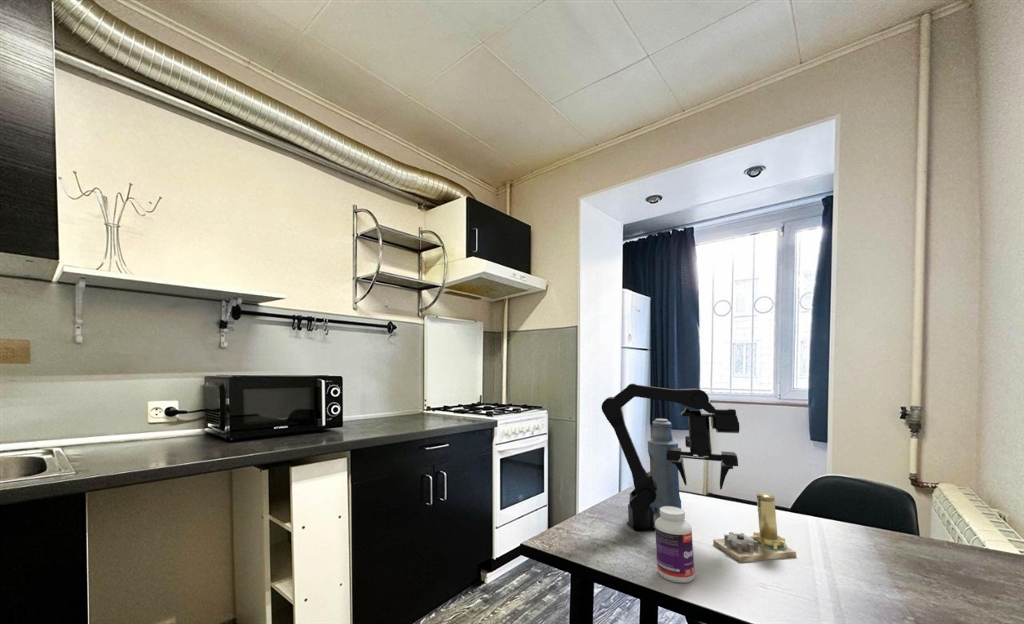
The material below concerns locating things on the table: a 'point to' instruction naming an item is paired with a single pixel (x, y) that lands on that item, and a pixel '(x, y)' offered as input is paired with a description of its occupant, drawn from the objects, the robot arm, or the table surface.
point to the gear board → (750, 548)
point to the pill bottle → (674, 545)
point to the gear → (767, 523)
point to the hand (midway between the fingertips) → (703, 487)
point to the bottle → (663, 466)
